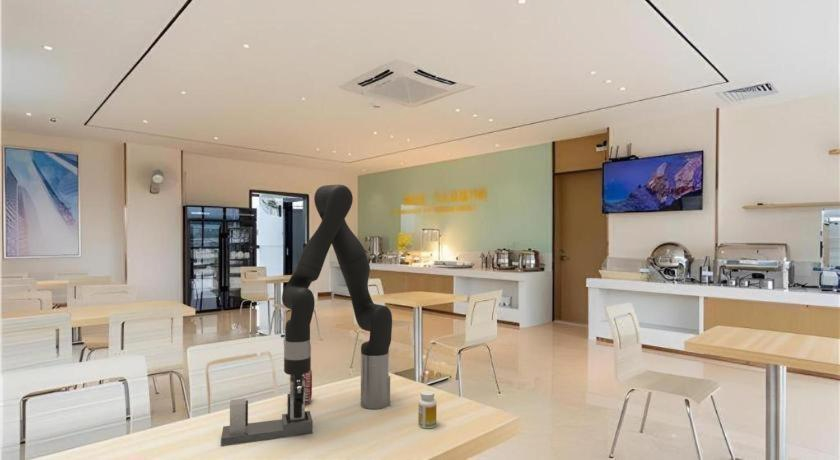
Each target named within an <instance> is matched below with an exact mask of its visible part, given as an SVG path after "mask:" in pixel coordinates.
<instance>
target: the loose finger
mask: <svg viewBox="0 0 840 460" xmlns="http://www.w3.org/2000/svg"><path fill="white" fill-rule="evenodd" d="M286 398H287V401H286V406H287V407H286V408H287V409H286V411H287V412H286V414H287V416H288V419H289V420H290V423H292V422H299V421H305V411H306V410H305V407H306V405H305V393H304V396H303V401H304V403H303V404H302V417H301V418H294V404H293V397H292V392H291V391H290V390H289V393H287V395H286ZM297 400H301V398H298V399H296V401H297Z"/></svg>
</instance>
